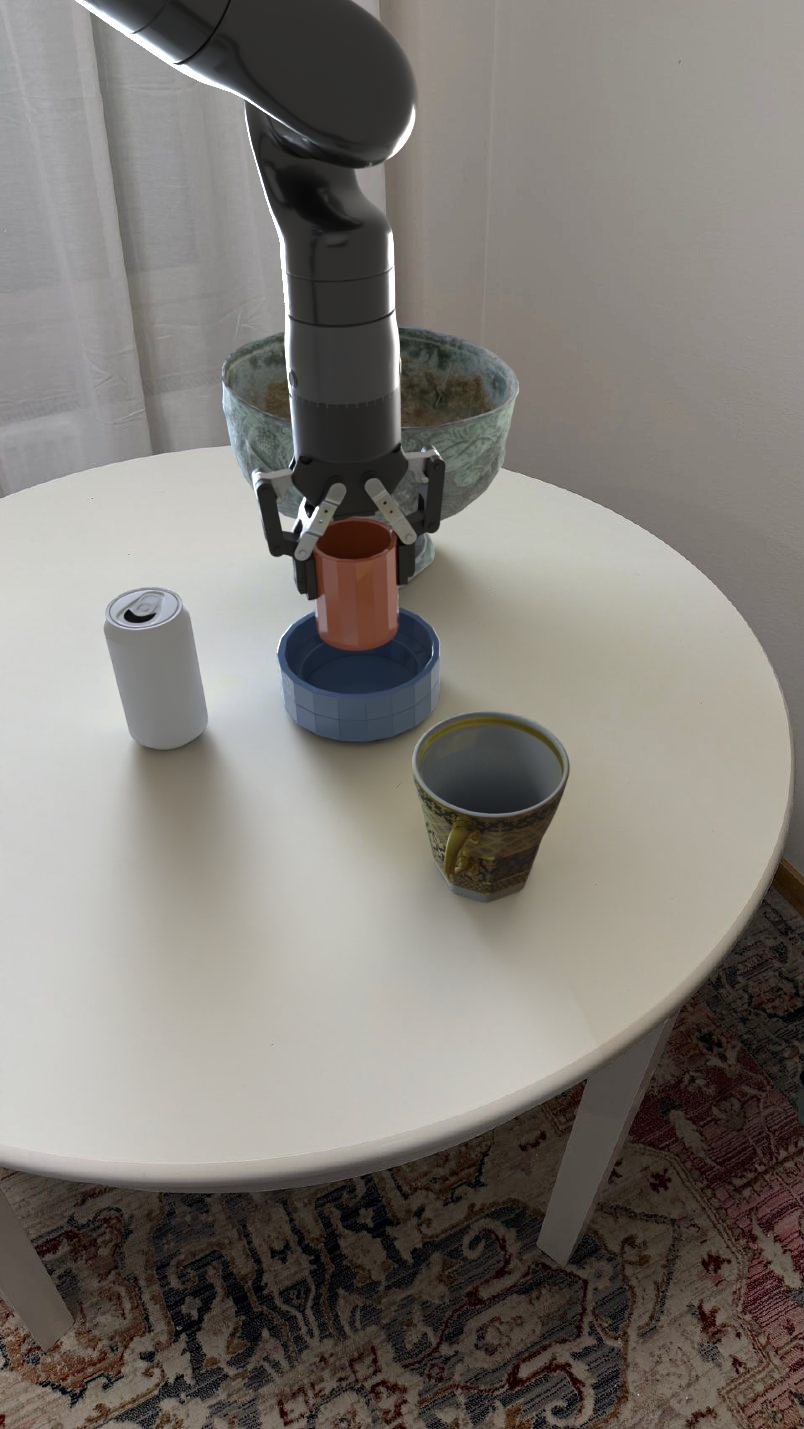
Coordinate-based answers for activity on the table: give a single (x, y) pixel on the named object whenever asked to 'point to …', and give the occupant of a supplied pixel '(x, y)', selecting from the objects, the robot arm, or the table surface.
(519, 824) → the ceramic cup
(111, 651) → the beverage can
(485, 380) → the decorative bowl
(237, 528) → the table surface
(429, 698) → the bowl
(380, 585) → the cup
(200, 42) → the robot arm
